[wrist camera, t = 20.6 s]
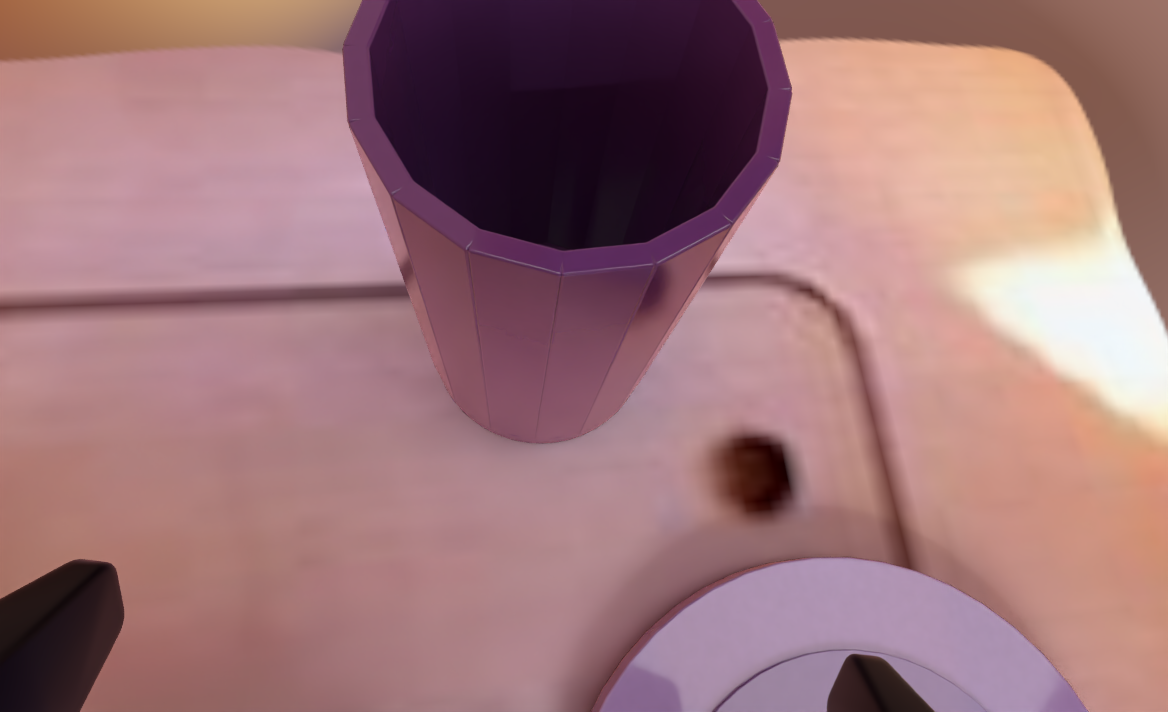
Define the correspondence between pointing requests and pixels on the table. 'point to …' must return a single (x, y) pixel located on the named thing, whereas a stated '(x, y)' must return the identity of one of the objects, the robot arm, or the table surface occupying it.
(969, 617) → the plate
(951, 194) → the table surface
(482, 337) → the tumbler
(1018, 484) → the table surface
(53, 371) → the table surface
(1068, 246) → the table surface
